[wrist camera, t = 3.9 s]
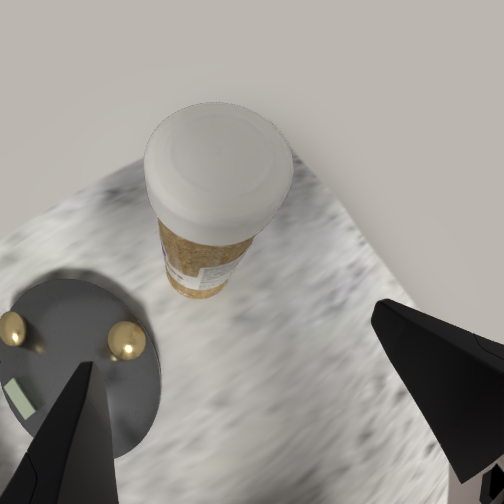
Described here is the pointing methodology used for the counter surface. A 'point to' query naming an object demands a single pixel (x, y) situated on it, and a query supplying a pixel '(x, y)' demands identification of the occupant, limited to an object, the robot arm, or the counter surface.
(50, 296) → the tribrach plate
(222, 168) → the sprinkles bottle
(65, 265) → the counter surface
